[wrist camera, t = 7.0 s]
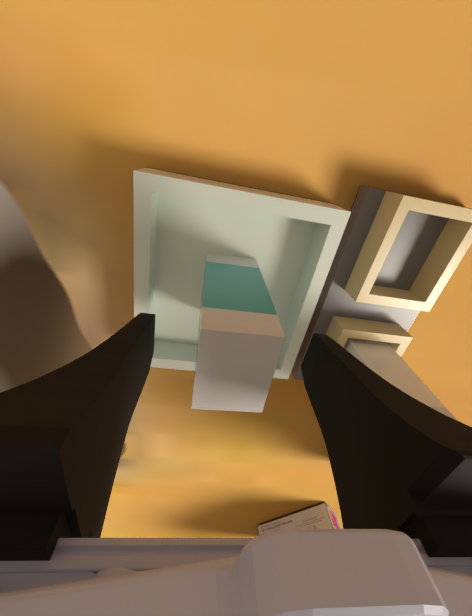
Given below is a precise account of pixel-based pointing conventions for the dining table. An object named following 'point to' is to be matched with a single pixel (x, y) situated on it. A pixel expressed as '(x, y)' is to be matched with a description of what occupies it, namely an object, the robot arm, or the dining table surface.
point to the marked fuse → (235, 337)
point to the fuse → (393, 370)
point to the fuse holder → (388, 268)
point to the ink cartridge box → (304, 520)
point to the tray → (229, 241)
